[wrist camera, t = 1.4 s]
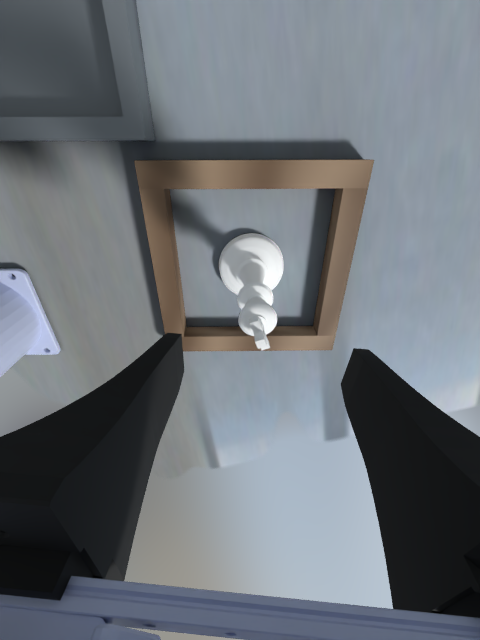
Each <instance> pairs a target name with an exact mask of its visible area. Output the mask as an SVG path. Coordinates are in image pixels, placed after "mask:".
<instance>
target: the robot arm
mask: <svg viewBox="0 0 480 640" xmlns="http://www.w3.org/2000/svg"><path fill="white" fill-rule="evenodd" d="M12 274H14V275H15V277H16V278H15V277H14V276H13V275H12ZM48 349H49V350H48ZM60 350H61V349H60V346H59V344H58V342H57V339H56V337H55V335H54V332H53V330H52V328H51V325H50V323H49V321H48V319H47V316H46V314H45V312H44V309H43V307H42V305H41V303H40V300H39V298H38V296H37V293H36V291H35V289H34V287H33V284H32V282H31V280H30V277H29V275H28V273H27V272H26V271H25V270H23V269H0V377H1V376H2V375H3V374H4V373H5V372H6V371H7V370H8V369H9V368H11V367H12V366H13V365H14V364H15V363H16V362H17V361H18V360H19V359H20V358H21V357H22V356H23V355H55V354H58V353H59V352H60ZM183 373H184V361H183V347H182V334H177V333H166V334H165V335H164V336H163V337H162V338H160V339H159V340H158V341H157V342H156V343H155V344H154V345H153V346H151V347H150V348H149V349H148V350H147V351H146V352H145V353H143V354H142V355H141V356H140V357H139V358H138V359H136V360H135V361H134V362H133V363H132V364H130V365H129V366H128V367H126V368H125V369H124V370H122V371H121V372H120V373H119V374H117V375H116V376H115V377H113V378H112V379H110V380H109V381H107V382H106V383H104V384H103V385H101V386H100V387H98V388H97V389H95V390H94V391H92V392H90V393H89V394H87V395H85V396H84V397H82V398H80V399H78V400H76V401H75V402H73V403H71V404H69V405H67V406H66V407H64V408H62V409H60V410H58V411H57V412H54V413H52V414H51V415H48V416H46V417H44V418H43V419H40V420H38V421H36V422H34V423H32V424H30V425H27V426H25V427H23V428H21V429H18V430H16V431H14V432H12V433H9V434H6V435H4V436H2V437H0V640H161V639H160V637H159V636H158V635H155V634H151V633H147V632H143V631H139V630H135V629H130V628H127V627H132V628H142V629H150V630H160V631H169V632H178V633H188V634H197V635H207V636H216V637H225V638H235V639H244V640H480V437H479V436H477V435H476V434H474V433H473V432H471V431H470V430H468V429H467V428H465V427H464V426H463V425H461V424H460V423H458V422H457V421H455V420H454V419H452V418H451V417H450V416H448V415H447V414H445V413H444V412H443V411H441V410H440V409H439V408H437V407H436V406H435V405H433V404H432V403H431V402H430V401H428V400H427V399H426V398H425V397H423V396H422V395H421V394H420V393H418V392H417V391H416V390H415V389H414V388H412V387H411V386H410V385H409V384H408V383H406V382H405V381H404V380H403V379H402V378H401V377H400V376H398V375H397V374H396V373H395V372H394V371H393V370H392V369H390V368H389V367H388V366H387V365H386V364H385V363H384V362H383V361H381V360H380V359H379V358H378V357H377V356H376V355H375V354H373V353H372V352H371V351H370V350H366V349H355V348H354V349H353V352H352V355H351V357H350V360H349V363H348V366H347V368H346V371H345V374H344V377H343V379H342V382H341V387H342V393H343V398H344V402H345V407H346V410H347V413H348V416H349V419H350V422H351V425H352V427H353V430H354V433H355V436H356V439H357V442H358V445H359V447H360V450H361V453H362V456H363V459H364V462H365V465H366V468H367V473H368V477H369V481H370V485H371V489H372V494H373V498H374V503H375V507H376V512H377V517H378V521H379V526H380V531H381V537H382V542H383V547H384V552H385V558H386V564H387V571H388V577H389V583H390V589H391V596H392V603H393V609H387V608H377V607H368V606H367V607H366V606H358V605H348V604H338V603H328V602H318V601H309V600H299V599H290V598H280V597H271V596H261V595H251V594H241V593H232V592H222V591H213V590H203V589H193V588H184V587H174V586H164V585H154V584H145V583H135V582H125V581H124V579H125V574H126V570H127V565H128V561H129V556H130V552H131V548H132V543H133V538H134V535H135V530H136V526H137V522H138V518H139V514H140V510H141V506H142V502H143V498H144V495H145V491H146V487H147V483H148V479H149V476H150V472H151V468H152V465H153V461H154V458H155V454H156V451H157V448H158V445H159V442H160V439H161V436H162V434H163V431H164V429H165V426H166V424H167V421H168V418H169V416H170V413H171V411H172V408H173V406H174V403H175V400H176V398H177V395H178V392H179V389H180V385H181V381H182V377H183Z"/></svg>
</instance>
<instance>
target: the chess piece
mask: <svg viewBox="0 0 480 640" xmlns="http://www.w3.org/2000/svg"><path fill="white" fill-rule="evenodd" d="M219 271H220V275H221V278H222V281H223V283H224V284H225V285H226V287H227V288H228V289H229V290H230V291H232V292H233V293H235V294H237V295H238V296H237V302H238V305H239V307H240V308H241V312H240V314H239V318H238V322H239V326H240V328H241V329H242V330H243V331H244V332H245V333H246V334H248V335H251V336H254V338H255V343H256V346H257V348H258V349H260V348H261V350H265V349H268V348H270V345H269V341H268V339H267V336H266V334H268V333H270V332H271V331H272V330H273V329H274V328H275V326H276V324H277V314H276V312H275V310H274V309H273V308H272V306H271V305H272V303H273V293H272V291H271V290H273V289H274V288H275V287H276V285H277V284H278V283H279V281H280V279H281V277H282V274H283V256H282V253H281V251H280V249H279V247H278V246H277V245H276V243H275V242H274V241H272V240H271V239H270V238H268V237H266V236H264V235H261V234H255V233H249V234H243V235H240V236H238V237H236V238H234V239H232V240H231V241H230V242H229V243H228V244H227V245H226V246H225V247H224V249H223V251H222V253H221V255H220V259H219Z"/></svg>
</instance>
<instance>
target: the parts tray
mask: <svg viewBox="0 0 480 640" xmlns="http://www.w3.org/2000/svg"><path fill="white" fill-rule="evenodd" d="M0 141H155V136H154V129H153V122H152V115H151V107H150V100H149V93H148V86H147V78H146V71H145V64H144V57H143V50H142V42H141V35H140V28H139V21H138V14H137V6H136V0H0Z"/></svg>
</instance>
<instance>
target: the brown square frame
mask: <svg viewBox="0 0 480 640" xmlns="http://www.w3.org/2000/svg"><path fill="white" fill-rule="evenodd" d="M134 163H135V168H136V174H137V179H138V185H139V191H140V196H141V202H142V207H143V213H144V219H145V224H146V230H147V236H148V241H149V247H150V252H151V258H152V264H153V269H154V275H155V280H156V286H157V292H158V297H159V303H160V309H161V314H162V320H163V325H164V331H165V334H166V333H177V334H182V347H183V351H281V350H332V349H333V344H334V340H335V335H336V331H337V326H338V322H339V317H340V312H341V308H342V303H343V299H344V294H345V290H346V285H347V281H348V276H349V272H350V267H351V263H352V258H353V253H354V249H355V244H356V240H357V235H358V231H359V226H360V222H361V217H362V213H363V208H364V204H365V199H366V195H367V190H368V185H369V181H370V176H371V172H372V167H373V163H374V160H365V159H351V160H137V161H134ZM311 188H335V194H334V200H333V207H332V213H331V219H330V225H329V231H328V237H327V243H326V249H325V255H324V261H323V268H322V274H321V280H320V286H319V292H318V298H317V304H316V310H315V316H314V322H313V326H275V328H274V329H273V330H272V331H271V332H270V333H268V334H266V336H267V339H268V341H269V345H270V348H268V349H265V350H261V348H260V349H258V348H257V346H256V343H255V338H254V336H251V335H248V334H246V333H245V332H244V331H243V330H242V329H241V328H240V327H187V325H186V317H185V309H184V301H183V293H182V285H181V277H180V269H179V261H178V253H177V245H176V238H175V230H174V222H173V214H172V206H171V198H170V190H169V189H311Z"/></svg>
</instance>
